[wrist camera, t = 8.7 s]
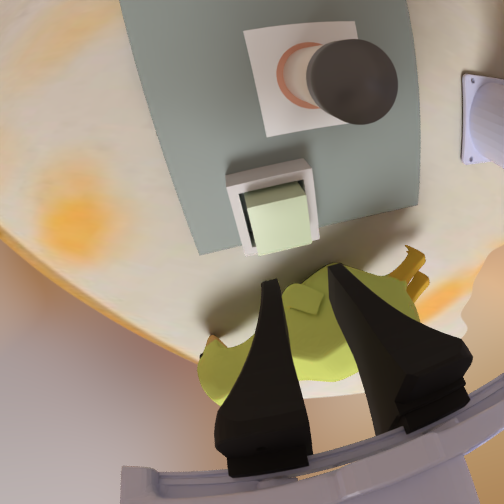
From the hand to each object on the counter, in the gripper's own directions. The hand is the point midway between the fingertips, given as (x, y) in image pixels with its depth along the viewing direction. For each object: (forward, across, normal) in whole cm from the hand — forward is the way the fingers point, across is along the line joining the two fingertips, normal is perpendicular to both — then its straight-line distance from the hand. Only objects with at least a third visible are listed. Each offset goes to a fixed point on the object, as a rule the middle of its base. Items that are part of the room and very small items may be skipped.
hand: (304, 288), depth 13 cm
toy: (+10, -1, +10) cm, 14 cm away
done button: (+8, 0, 0) cm, 8 cm away
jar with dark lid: (+9, -4, -8) cm, 12 cm away
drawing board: (+9, -3, -8) cm, 13 cm away
